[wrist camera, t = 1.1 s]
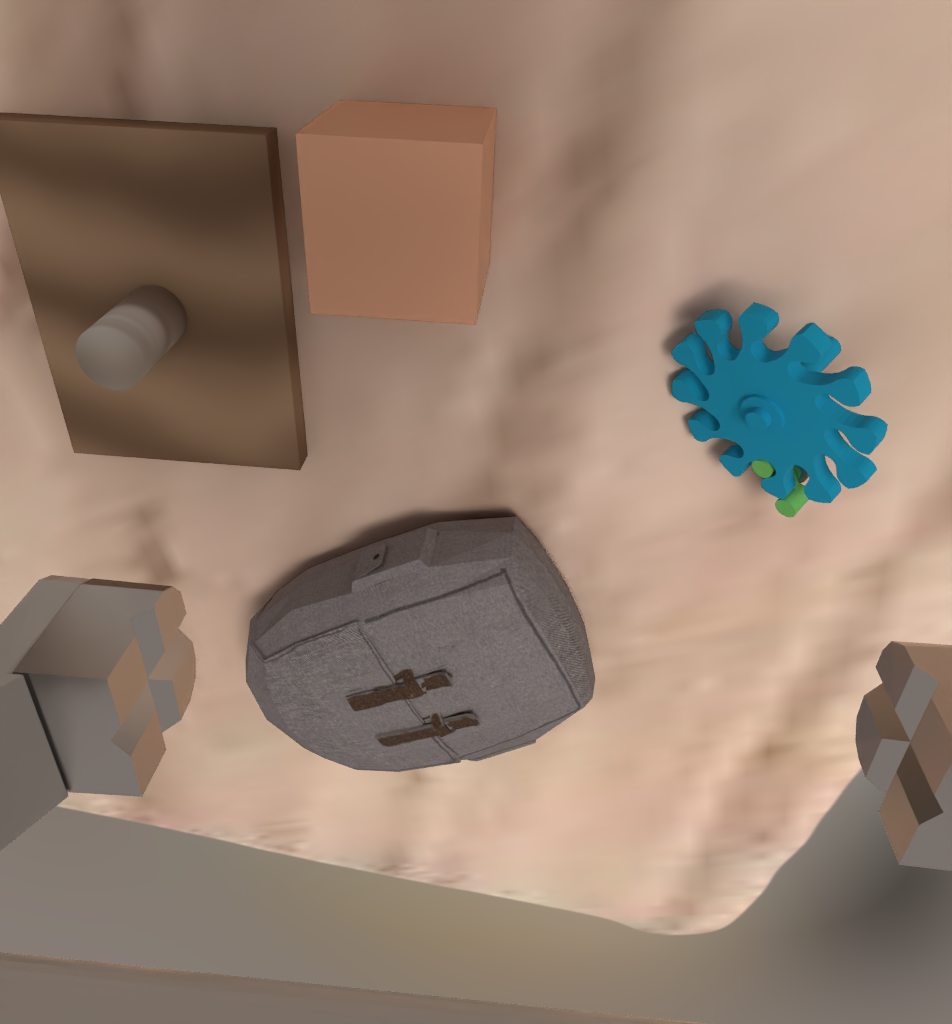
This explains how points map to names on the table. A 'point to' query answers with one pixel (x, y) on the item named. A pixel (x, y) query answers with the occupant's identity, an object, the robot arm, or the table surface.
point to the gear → (778, 406)
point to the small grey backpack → (423, 649)
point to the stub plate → (159, 285)
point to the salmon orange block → (397, 209)
